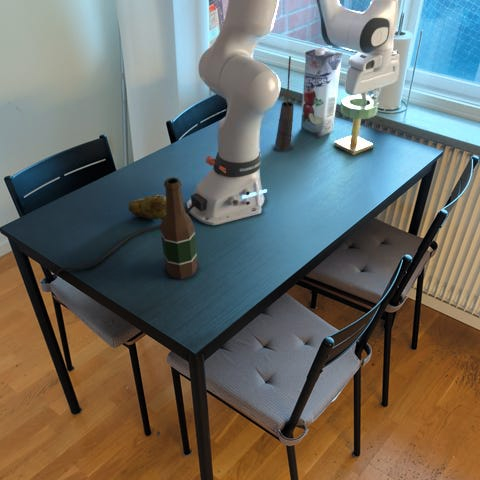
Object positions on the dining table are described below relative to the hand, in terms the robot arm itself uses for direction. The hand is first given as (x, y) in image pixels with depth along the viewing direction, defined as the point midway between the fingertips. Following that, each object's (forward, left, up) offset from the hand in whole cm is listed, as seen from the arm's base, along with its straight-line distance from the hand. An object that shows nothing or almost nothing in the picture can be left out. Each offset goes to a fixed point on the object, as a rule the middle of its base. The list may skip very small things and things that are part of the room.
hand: (369, 102), depth 167 cm
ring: (-4, 0, -2) cm, 5 cm away
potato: (-79, +1, -14) cm, 81 cm away
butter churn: (-24, +12, -14) cm, 30 cm away
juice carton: (-6, +16, -14) cm, 22 cm away
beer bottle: (-84, -23, -13) cm, 89 cm away
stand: (-4, 0, -13) cm, 14 cm away
